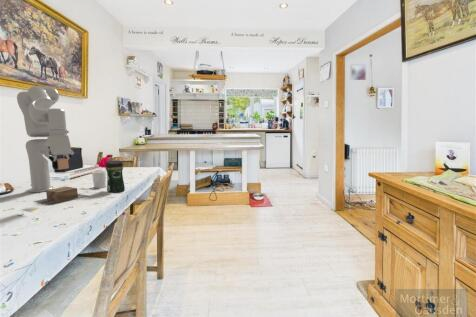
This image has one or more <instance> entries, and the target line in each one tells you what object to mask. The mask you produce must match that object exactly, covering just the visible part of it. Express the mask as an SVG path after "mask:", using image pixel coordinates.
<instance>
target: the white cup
mask: <svg viewBox="0 0 476 317" xmlns="http://www.w3.org/2000/svg"><path fill="white" fill-rule="evenodd" d="M91 175H92V181H93V182H92V183H93V187H94V188H95V189H101V188H105V187H107V180H106V179H107V171H106V170H97V171H96V170H95V171H92V172H91Z"/></svg>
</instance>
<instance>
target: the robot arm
mask: <svg viewBox="0 0 476 317" xmlns="http://www.w3.org/2000/svg"><path fill="white" fill-rule="evenodd" d="M59 99H60V95H59V92H58V90H57V89H56V88H55V87H51V86H43V85H42V86H41V85H33V86H30V87H29V88H28V90H27V91H20V92H18V93H17V95H16V100H17V105H18V106H19V109H20V110H21V112H22V115H23V119H24V120H23V121H24V124H25V125H24V127H25V131H26V135H27V136H28V137H30V138H32V139H30V140H28V141H26V142H25V150H26V154H27V158H28V164H29V166H28V167H29V175H30V188H29V189H28V192H29V193H42V192H46V190H50V189H55V188H54V186H51V178H50V168H49V167H50V166H49V161H50V162H51V166H52V170H58V164H57V161H56V159H58V156H63V158H64V159H68V163H69V164H70V161H69V160H71V158H72V156H73V155H74V154H75V152H74V150H73V149H72V148H71V140H70V139H69V135H67V134H69V133H70V132H69V130H67V121H66V120H67V119H66V111H65V110H64V108H54V107H53V108H51V107H52V106H53V105H55V104H56V103H57V102H58V101H59ZM33 138H34V139H33ZM35 138H36V139H35ZM48 159H49V160H48Z"/></svg>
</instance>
